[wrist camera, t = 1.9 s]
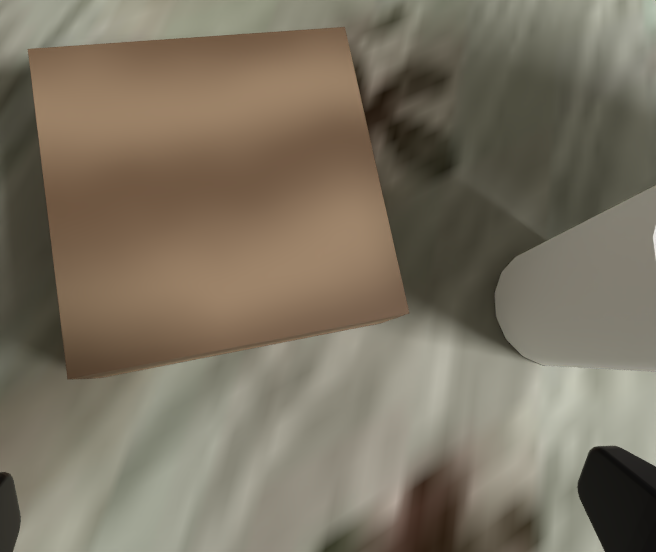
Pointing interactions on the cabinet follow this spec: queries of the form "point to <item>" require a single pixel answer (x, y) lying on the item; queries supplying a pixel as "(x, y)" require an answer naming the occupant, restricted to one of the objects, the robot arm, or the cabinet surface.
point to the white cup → (587, 293)
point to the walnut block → (209, 197)
